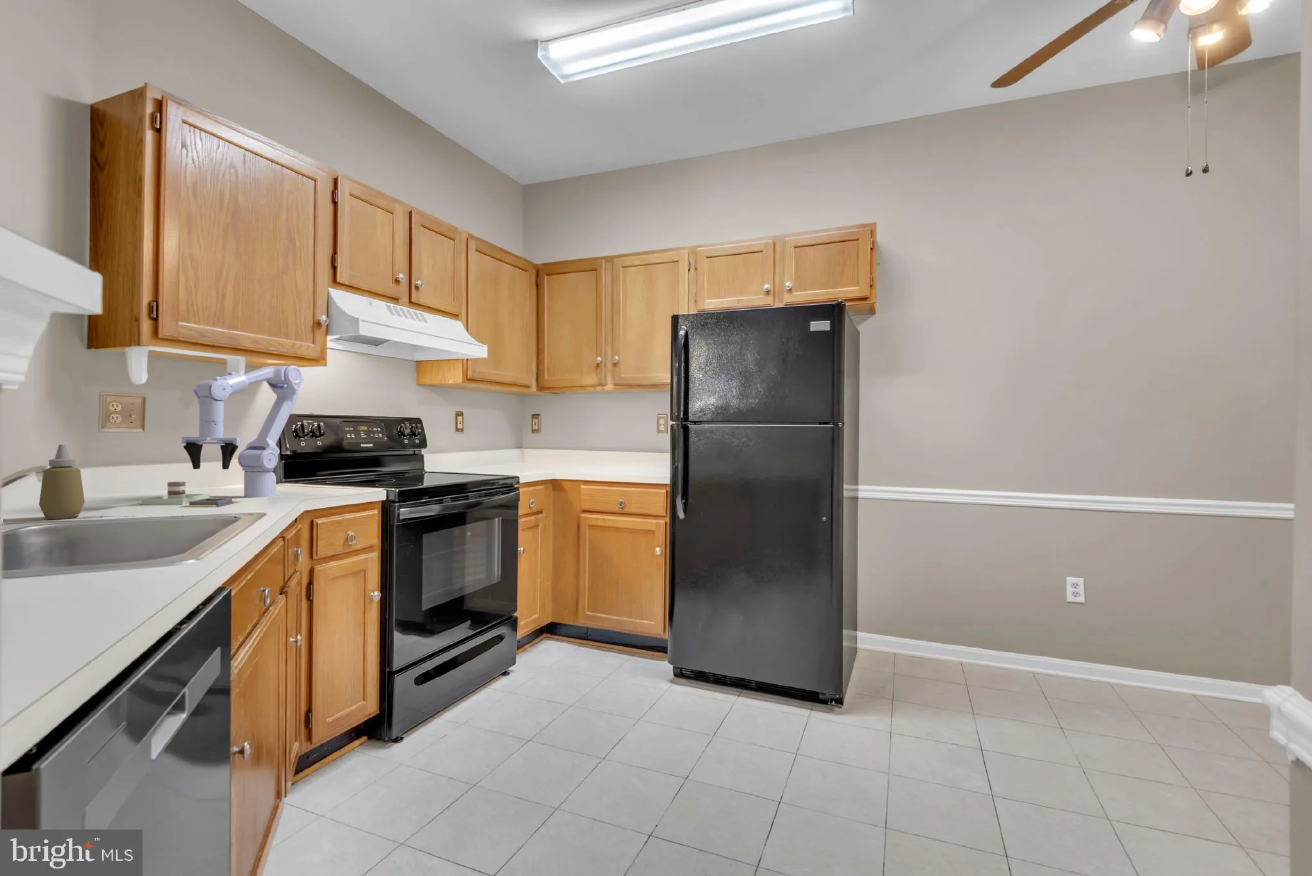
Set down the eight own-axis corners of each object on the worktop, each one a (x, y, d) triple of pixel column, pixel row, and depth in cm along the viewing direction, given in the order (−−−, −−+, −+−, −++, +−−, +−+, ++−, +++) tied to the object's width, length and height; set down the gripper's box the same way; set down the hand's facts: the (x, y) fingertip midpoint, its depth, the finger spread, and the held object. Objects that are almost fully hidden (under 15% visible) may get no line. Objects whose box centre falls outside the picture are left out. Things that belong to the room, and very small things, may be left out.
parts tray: (171, 502, 182) (171, 493, 182) (209, 502, 184) (209, 493, 183) (141, 508, 169) (141, 499, 169) (182, 508, 170) (182, 499, 170)
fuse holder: (203, 505, 177) (203, 497, 177) (241, 505, 179) (241, 497, 179) (178, 510, 165) (178, 502, 165) (218, 510, 167) (218, 502, 167)
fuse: (171, 502, 177) (171, 481, 177) (188, 502, 178) (188, 481, 178) (164, 504, 173) (164, 483, 173) (181, 503, 174) (181, 482, 174)
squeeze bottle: (32, 521, 145) (32, 445, 145) (48, 516, 153) (48, 444, 152) (76, 519, 149) (76, 445, 148) (90, 514, 156) (90, 444, 156)
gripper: (175, 421, 172) (174, 469, 172) (231, 422, 174) (231, 470, 174) (190, 421, 179) (189, 468, 179) (244, 422, 181) (243, 468, 181)
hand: (211, 469), depth 177 cm, fingers open, 7 cm apart
